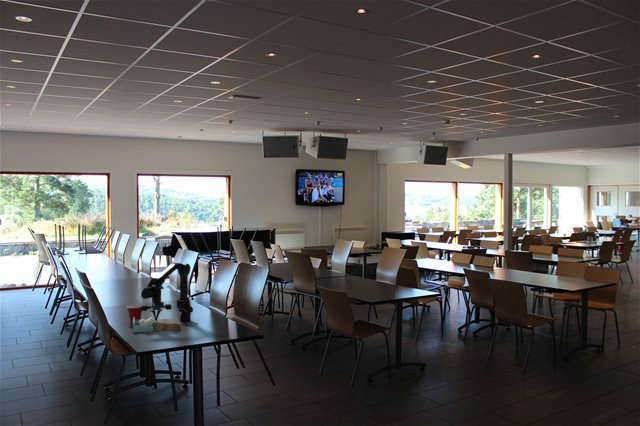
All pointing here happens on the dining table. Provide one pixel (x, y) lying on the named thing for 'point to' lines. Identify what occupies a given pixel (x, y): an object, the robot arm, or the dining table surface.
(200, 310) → the dining table surface
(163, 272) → the robot arm
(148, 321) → the tile
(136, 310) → the plastic cup
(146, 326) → the box
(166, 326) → the walnut plate
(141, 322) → the tile
